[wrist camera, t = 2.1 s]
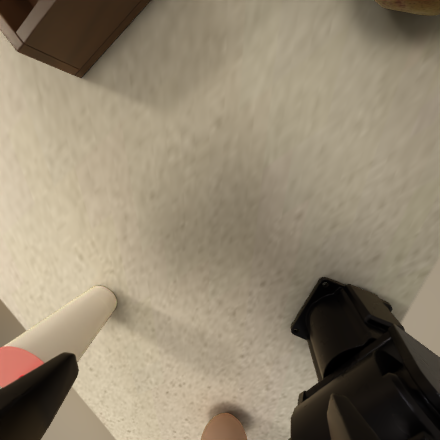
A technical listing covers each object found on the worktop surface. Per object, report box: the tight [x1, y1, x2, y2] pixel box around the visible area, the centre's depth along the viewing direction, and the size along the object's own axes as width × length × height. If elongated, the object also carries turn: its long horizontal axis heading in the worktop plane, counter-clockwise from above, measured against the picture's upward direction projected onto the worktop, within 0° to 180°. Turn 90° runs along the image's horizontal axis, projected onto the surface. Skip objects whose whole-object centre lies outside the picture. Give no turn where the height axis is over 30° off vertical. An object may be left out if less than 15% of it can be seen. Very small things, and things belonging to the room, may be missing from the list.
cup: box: [0, 286, 117, 388], centre depth 19 cm, size 5×5×12 cm
